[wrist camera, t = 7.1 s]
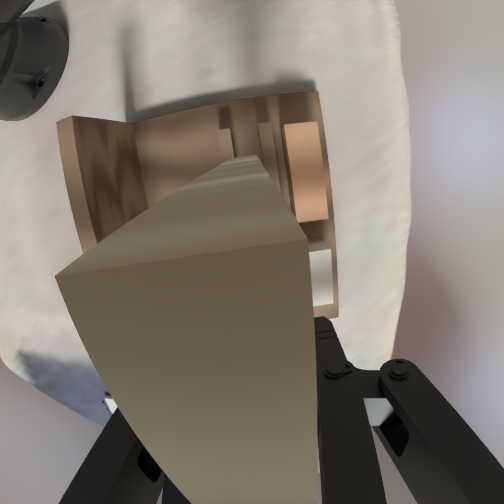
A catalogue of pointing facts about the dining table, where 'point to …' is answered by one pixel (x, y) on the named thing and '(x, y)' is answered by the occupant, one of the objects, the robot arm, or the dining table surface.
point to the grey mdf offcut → (321, 271)
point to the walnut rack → (181, 161)
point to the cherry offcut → (304, 171)
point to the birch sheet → (209, 336)
